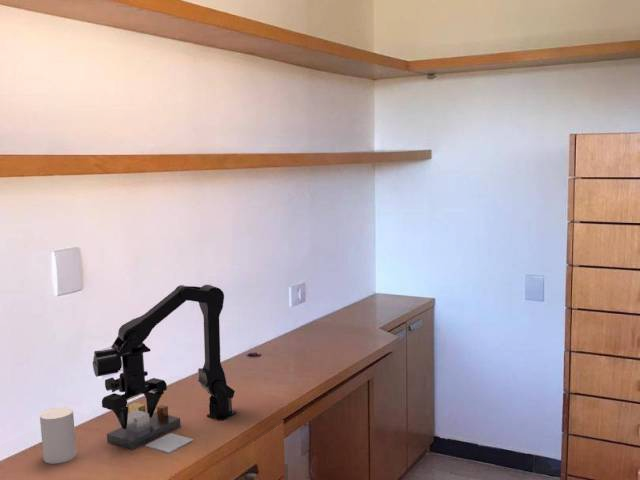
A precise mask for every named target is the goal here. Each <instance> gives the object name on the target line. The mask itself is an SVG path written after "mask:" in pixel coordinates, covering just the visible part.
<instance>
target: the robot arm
mask: <svg viewBox="0 0 640 480" xmlns="http://www.w3.org/2000/svg"><path fill="white" fill-rule="evenodd" d="M187 301H191V302H195V303H196V302H197V303H198V305H199V307H200V311H201V313H202V316H203V340H204V341H203V342H204V345H203V346H204V365H203V367H202V368H200V367H199V368H198V369H197V371H198V380H197V382H198V383H200V386H201V388H203V389H204V390H205V391H206V392H207V394H209V395H210V397H209V398H208V399H209V402H208V403H209V404H208V407H209V413H207V414H206V417H207V418H210V419H214V420H218V421H224V420H226V419H228V418H231V417H232V416H234V415H236V414H237V411H235V410H233V402H232V400H233V398H234V396H235V390H234V389H233V388H231V387H230V386H228V384H227V379H226V373H225V372H224V368H223V365H222V363H221V336H220V335H221V334H220V333H221V331H220V327H221V326H220V315H221V313H222V310H223V308H224V301H225V293H224V291H223V290H222V289H221V288H219V287H217V286H214V285H212V284H204V285H202V286H195V285H194V286H193V285H191V286H190V285H184V284H183V285H182V284H181V285H178V286H176V288H175V289H174V290H173V291H172V292H170V293H169V294H167V296H165V297H164V298H163V299H161V301H158V303H156V304H155V305H154V306H152V308H150V309H149V310H148V311H146V312H145V313H144V314H142V315H141V316H137V317H136V318H133V319H131V320H129V321H127V322H126V323H124V324H122V325H121V326H120V327H119V329H118V331H117V332H118V333H117V337H116V339H115V340H114V342H113V343H112V345H111V348H110V349H103V350H95V351H94V352H93V359H92V360H93V361H92V367H93V373H94V375H95V377H97V378H98V377H102V376H108V375H113V374H116V373H117V374H118V373H119V371H121V369H122V372H121V373H120V374H119V378H116V379H115V378H114V377H109V378H107V379H104V387H105V390H106V391H111V394H109V395H105V396H104V397H103V398H102V399H101V408H103V409H107V410H109V411H112V412H113V413H114V415H115V416H116V418H117V420H118V423H119V424H120V426H121V427H122V428H123V429H126V428H127V420H128V414H129V406H127V405H128V400H129V401H130V400H131V399H134V398H137V397H139V396H141V395H144V397H145V401H146V413H149V418H151V417H152V416H153V413H155V412H156V409H157V407H158V404H159V401H160V399H161V398H162V396H163V395H164V394H165V391H167V390H168V387H167V382H166V380H165V379H160V378H155V377H153V378H150V379H147V380H146V376H148V373H149V372H148V371H147V370H145V361H144V353H149V352H151V350H152V349H151V348H150V347H148V346H147V345H146V344H145V343H144V342H145V341H146V339H147V338H148V337H149V336H150V335H151V332H152V331H153V330H154V328H155V327H156V326H157V325H158V324H159V323H161V322H162V321H163V320H165V319H166V318H168V316H170V315H171V314H172V313H173V312H174V311H176V310H177V309H178V308H179V307H180V306H182V305H183V304H184V303H186V302H187ZM116 391H118V392H119V393H123V394H118V393H115V392H116Z"/></svg>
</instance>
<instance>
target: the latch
mask: <svg viewBox="0 0 640 480" xmlns="http://www.w3.org/2000/svg"><path fill="white" fill-rule="evenodd" d="M136 410H139V411H142V412H146V404H143V403H138V402H134V403H132V404H129V405H128V411H129V413H131V412H133V411H136Z"/></svg>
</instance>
